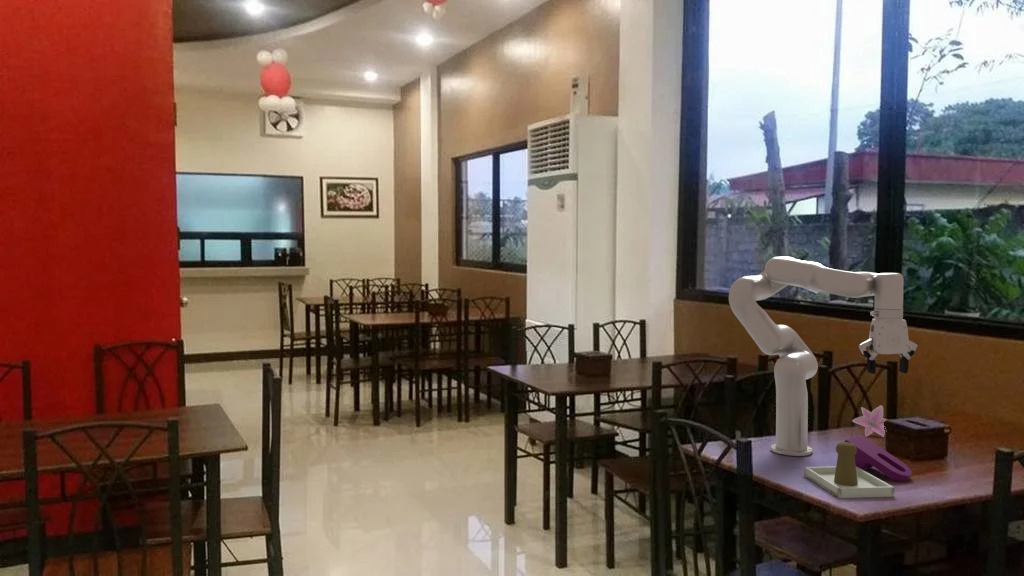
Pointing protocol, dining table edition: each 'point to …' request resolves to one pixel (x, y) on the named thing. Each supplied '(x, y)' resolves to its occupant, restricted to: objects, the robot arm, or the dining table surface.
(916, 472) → the dining table surface
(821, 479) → the tray
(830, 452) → the dining table surface
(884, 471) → the mounting bracket
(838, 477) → the cork
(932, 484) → the dining table surface
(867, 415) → the lily
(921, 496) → the dining table surface
